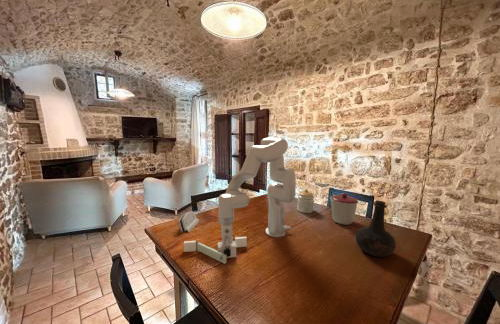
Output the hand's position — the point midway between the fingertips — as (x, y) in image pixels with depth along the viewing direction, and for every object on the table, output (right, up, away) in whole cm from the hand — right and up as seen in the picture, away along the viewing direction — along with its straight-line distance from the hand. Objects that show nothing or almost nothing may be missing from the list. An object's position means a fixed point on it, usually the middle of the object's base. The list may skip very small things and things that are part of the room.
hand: (226, 250), depth 103 cm
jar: (+57, +6, +61) cm, 84 cm away
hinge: (-29, +2, +32) cm, 43 cm away
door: (-8, -3, -1) cm, 9 cm away
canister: (+78, +2, +41) cm, 88 cm away
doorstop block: (0, -3, +1) cm, 3 cm away
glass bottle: (+78, -3, +5) cm, 78 cm away
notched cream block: (-6, -2, +6) cm, 9 cm away
